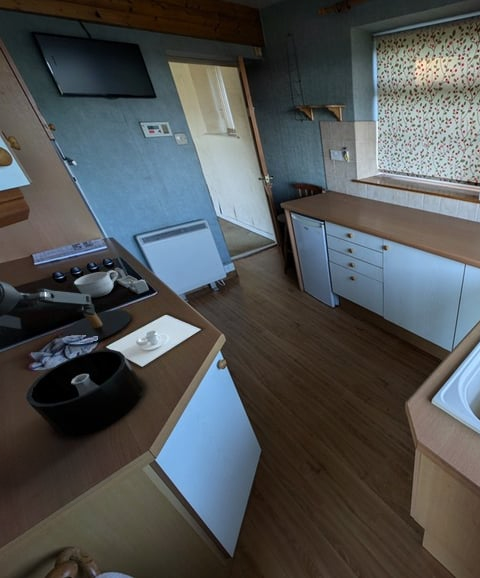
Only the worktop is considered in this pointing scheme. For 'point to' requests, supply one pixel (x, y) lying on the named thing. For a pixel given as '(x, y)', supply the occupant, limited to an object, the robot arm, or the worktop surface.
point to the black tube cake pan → (93, 405)
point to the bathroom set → (130, 282)
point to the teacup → (96, 283)
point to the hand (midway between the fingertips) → (56, 316)
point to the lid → (100, 324)
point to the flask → (83, 384)
